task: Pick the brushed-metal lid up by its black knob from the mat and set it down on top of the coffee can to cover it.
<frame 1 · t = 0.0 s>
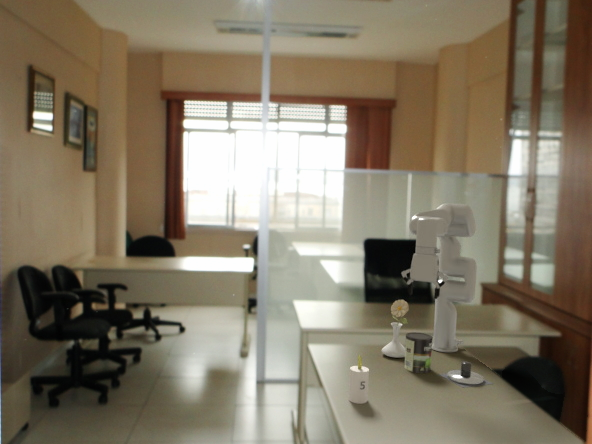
hand: (423, 296, 197), 31 cm above the table, tool pointing down, fingers open, 9 cm apart
flower in vase: (395, 356, 225), on the table
lid: (465, 378, 197), point 1 cm above the table, touching mat
coffee can: (416, 371, 207), on the table
mat: (465, 381, 198), on the table
candle: (358, 400, 175), on the table
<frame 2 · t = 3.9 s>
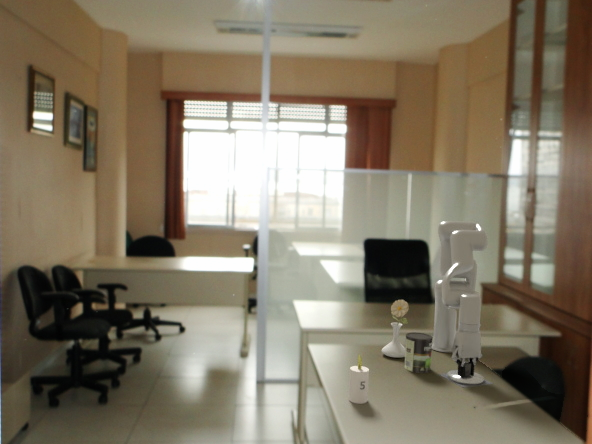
hand: (465, 374, 197), 3 cm above the table, tool pointing down, fingers closed on lid, 3 cm apart
lid: (465, 378, 197), point 1 cm above the table, touching gripper, mat
everything else where it was.
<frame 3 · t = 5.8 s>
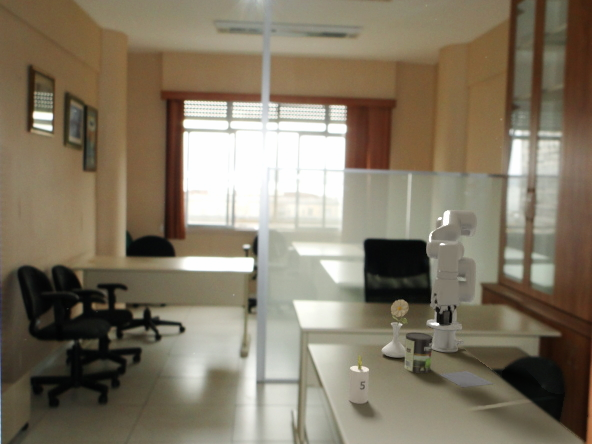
hand: (444, 322, 201), 21 cm above the table, tool pointing down, fingers closed on lid, 3 cm apart
lid: (444, 326, 201), point 19 cm above the table, touching gripper
everything else where it was.
when the fingers open (17 cm above the table, at t = 7.7 s): lid drops 2 cm, resting on coffee can.
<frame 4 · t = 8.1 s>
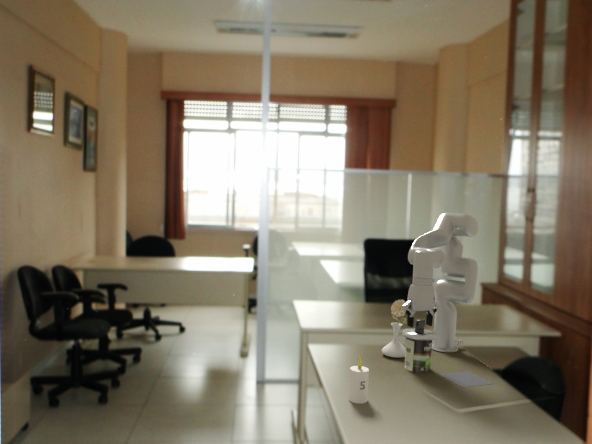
hand: (419, 325, 206), 18 cm above the table, tool pointing down, fingers open, 8 cm apart
lid: (419, 335, 206), point 14 cm above the table, touching coffee can
coffee can: (416, 371, 207), on the table, touching lid
everything else where it was.
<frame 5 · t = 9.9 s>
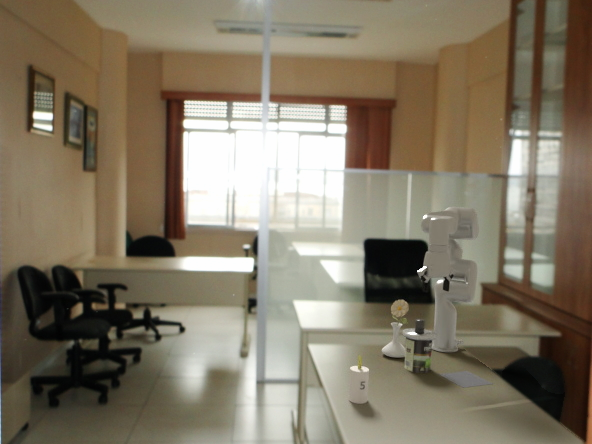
hand: (435, 291, 209), 31 cm above the table, tool pointing down, fingers open, 9 cm apart
nothing on the table moved.
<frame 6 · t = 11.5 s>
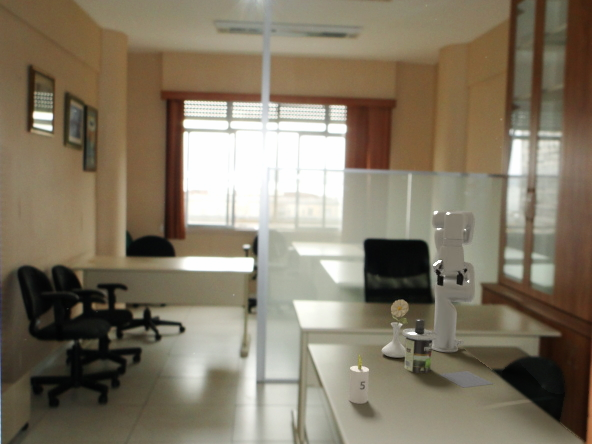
hand: (449, 285, 213), 33 cm above the table, tool pointing down, fingers open, 9 cm apart
nothing on the table moved.
at the end: lid inside the target area on the coffee can (0.1 cm from its centre), point 14.3 cm above the coffee can's base; lid tilted 0°; coffee can moved 0.2 cm from its start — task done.
